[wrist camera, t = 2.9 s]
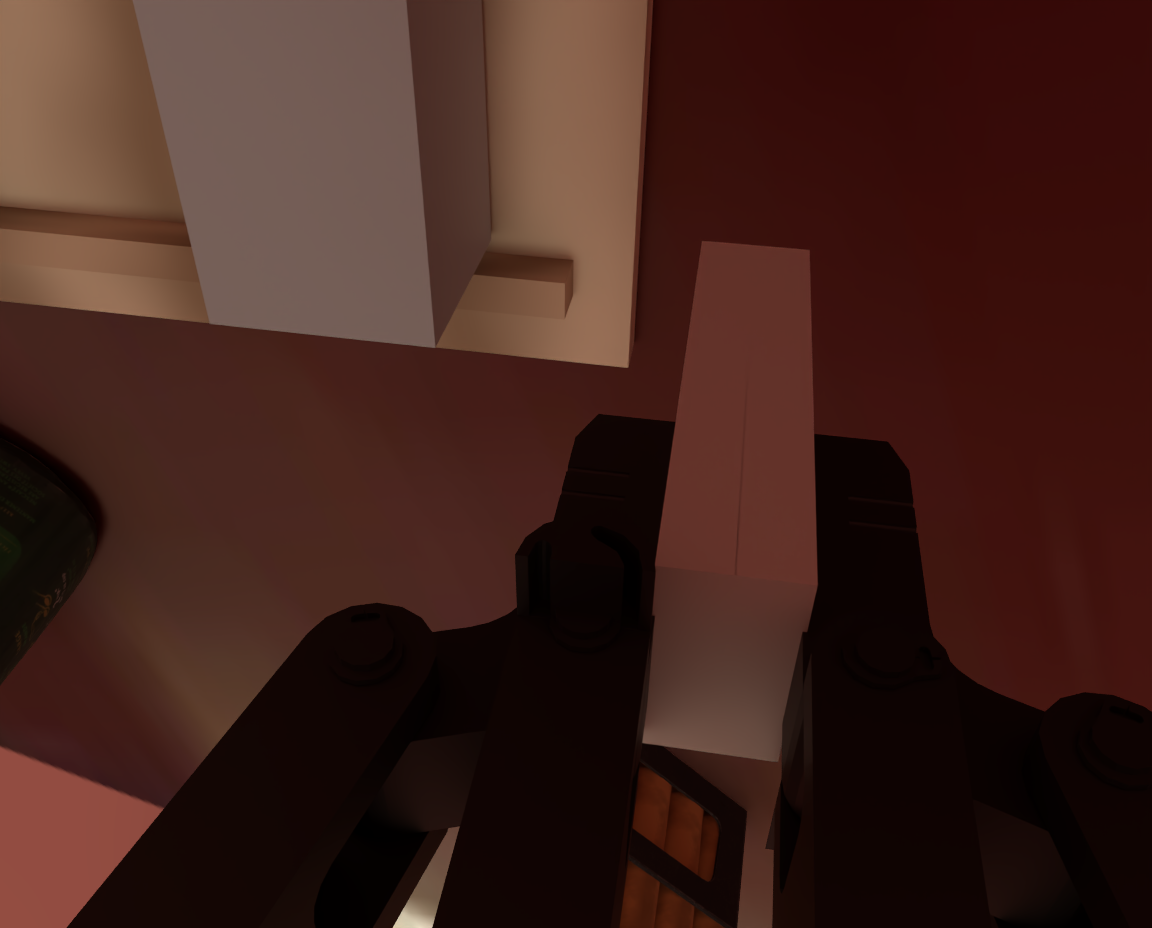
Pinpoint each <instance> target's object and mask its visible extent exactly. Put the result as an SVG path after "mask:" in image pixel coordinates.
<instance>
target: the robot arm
mask: <svg viewBox="0 0 1152 928" xmlns="http://www.w3.org/2000/svg"><path fill="white" fill-rule="evenodd" d="M916 528H917V525H916V518H915V510H914V508H913V495H912V488H911V480H910V473H909V470H908V468H907V467H906V466H905V464H904V463H903V462H902V460H901V459H900V458H899V456H898V455H897V453H896V452H895V451H894V449H893V448H892V447H891V445H890V444H889V443H888V442H885V441H876V440H866V439H857V438H847V437H838V436H828V435H819V434H814V413H813V372H812V331H811V289H810V250H804V249H793V248H781V247H769V246H757V245H746V244H734V243H722V242H710V241H702V245H701V252H700V259H699V266H698V272H697V279H696V286H695V293H694V300H693V307H692V314H691V320H690V327H689V334H688V341H687V348H686V355H685V362H684V368H683V375H682V382H681V389H680V396H679V403H678V409H677V416H676V422H669V421H660V420H650V419H641V418H631V417H622V416H612V415H603V414H598V415H597V416H596V417H595V418H594V419H593V420H592V421H591V422H590V423H589V424H588V425H587V426H586V427H585V428H584V429H583V430H582V431H581V432H580V433H579V434H578V435H577V437H576V438H575V442H574V445H573V449H572V453H571V457H570V460H569V464H568V471H567V472H566V476H565V479H564V483H563V487H562V494H561V495H560V498H559V502H558V506H557V510H556V513H555V517H554V521H553V522H549V523H546V524H544V525H542V526H541V527H539V528H538V529H537V530H535V531H534V532H532V533H531V534H530V535H528V536H527V537H525V539H524V541H523V543H522V544H521V546H520V548H519V549H518V551H517V553H516V554H515V564H516V593H517V608H516V609H514V610H513V611H512V612H510V613H509V614H507V615H505V616H503V617H501V618H499V619H496V620H494V621H492V622H489V623H485V624H481V625H477V626H472V627H467V628H460V629H452V630H445V631H437V632H432V631H431V630H430V629H429V627H428V626H427V624H426V623H425V622H424V620H423V619H422V618H421V617H419V616H417V615H416V614H414V613H412V612H410V611H408V610H407V609H405V608H403V607H399V606H393V605H387V604H381V603H373V604H365V605H357V606H351V607H348V608H346V609H344V610H341V611H339V612H337V613H334V614H332V615H330V616H328V617H326V618H325V619H324V620H322V621H321V622H320V623H319V624H318V625H317V626H316V627H314V628H313V629H312V630H311V631H310V632H309V633H307V635H306V636H305V637H304V638H303V640H302V641H301V642H300V643H299V644H298V646H297V647H296V648H295V649H294V651H293V652H292V653H291V654H290V655H289V657H288V658H287V659H286V660H285V662H284V663H283V664H282V665H281V666H280V668H279V669H278V670H277V671H276V673H275V674H274V675H273V676H272V677H271V679H270V680H269V681H268V682H267V684H266V685H265V686H264V687H263V688H262V690H261V691H260V692H259V693H258V695H257V696H256V697H255V698H254V699H253V701H252V702H251V703H250V704H249V706H248V707H247V708H246V709H245V710H244V712H243V713H242V714H241V715H240V717H239V718H238V719H237V720H236V721H235V723H234V724H233V725H232V726H231V728H230V729H229V730H228V731H227V732H226V734H225V735H224V736H223V737H222V739H221V740H220V741H219V742H218V743H217V745H216V746H215V747H214V748H213V749H212V751H211V752H210V753H209V754H208V756H207V757H206V758H205V759H204V760H203V762H202V763H201V764H200V765H199V767H198V768H197V769H196V770H195V771H194V773H193V774H192V775H191V776H190V778H189V779H188V780H187V781H186V782H185V784H184V785H183V786H182V787H181V789H180V790H179V791H178V792H177V793H176V795H175V796H174V797H173V798H172V800H171V801H170V802H169V803H168V804H167V806H166V807H165V808H164V809H163V811H162V812H161V813H160V814H159V816H158V817H157V818H156V819H155V820H154V822H153V823H152V824H151V825H150V826H149V828H148V829H147V830H146V831H145V833H144V834H143V835H142V836H141V838H140V839H139V840H138V841H137V842H136V844H135V845H134V846H133V847H132V848H131V850H130V851H129V852H128V853H127V855H126V856H125V857H124V858H123V860H122V861H121V862H120V863H119V864H118V866H117V867H116V868H115V869H114V870H113V872H112V873H111V874H110V875H109V876H108V878H107V879H106V880H105V881H104V883H103V884H102V885H101V886H100V887H99V889H98V890H97V891H96V892H95V894H94V895H93V896H92V897H91V899H90V900H89V901H88V902H87V904H86V905H85V906H84V907H83V908H82V909H81V911H80V912H79V913H78V914H77V916H76V917H75V918H74V919H73V920H72V922H71V923H70V924H69V925H68V927H67V928H393V926H394V924H395V922H396V921H397V919H398V917H399V915H400V914H401V912H402V910H403V908H404V907H405V905H406V903H407V901H408V900H409V898H410V896H411V894H412V893H413V891H414V889H415V887H416V886H417V884H418V882H419V880H420V879H421V877H422V875H423V873H424V872H425V870H426V868H427V866H428V865H429V863H430V861H431V859H432V857H433V856H434V854H435V852H436V850H437V849H438V847H439V845H440V843H441V842H442V840H443V838H444V836H445V835H446V833H447V830H448V828H451V827H457V826H460V828H459V832H458V835H457V839H456V843H455V846H454V850H453V854H452V857H451V861H450V865H449V868H448V872H447V876H446V879H445V883H444V887H443V890H442V894H441V898H440V901H439V905H438V909H437V912H436V916H435V920H434V924H433V927H432V928H620V920H621V912H622V905H623V897H624V889H625V881H626V874H627V866H628V858H629V851H630V843H631V835H632V827H633V820H634V812H635V804H636V797H637V789H638V777H639V765H640V756H641V749H642V743H646V744H653V745H660V746H667V747H674V748H681V749H688V750H696V751H703V752H710V753H717V754H724V755H731V756H738V757H745V758H752V759H759V760H766V761H773V762H778V759H779V755H780V750H781V746H782V780H781V784H780V788H779V792H778V797H777V801H776V805H775V809H774V814H773V818H772V822H771V827H770V831H769V835H768V839H767V844H766V848H765V849H772V850H774V872H773V924H772V928H1152V712H1151V711H1149V710H1148V709H1147V708H1145V707H1143V706H1141V705H1138V704H1135V703H1133V702H1130V701H1127V700H1125V699H1122V698H1120V697H1117V696H1114V695H1106V694H1096V693H1086V692H1084V693H1080V694H1076V695H1072V696H1068V697H1064V698H1060V699H1059V700H1058V701H1057V702H1056V703H1055V704H1053V705H1052V706H1051V707H1050V708H1049V709H1048V710H1047V711H1045V712H1044V711H1042V710H1039V709H1036V708H1034V707H1031V706H1029V705H1026V704H1024V703H1021V702H1018V701H1016V700H1013V699H1011V698H1008V697H1006V696H1003V695H1001V694H998V693H996V692H994V691H992V690H990V689H988V688H986V687H984V686H982V685H980V684H977V683H976V682H975V681H973V680H972V679H970V678H969V677H968V676H966V675H965V674H963V673H962V672H960V671H959V670H958V669H957V668H956V667H955V666H954V665H953V664H952V663H951V662H950V660H949V657H948V654H947V652H946V649H945V648H944V647H943V646H942V645H941V644H940V643H939V642H938V641H937V640H936V639H935V638H934V637H933V633H932V630H931V627H930V623H929V615H928V608H927V600H926V593H925V585H924V578H923V570H922V563H921V555H920V548H919V540H918V533H916Z"/></svg>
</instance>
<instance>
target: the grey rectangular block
mask: <svg viewBox="0 0 1152 928" xmlns="http://www.w3.org/2000/svg"><path fill="white" fill-rule="evenodd" d="M133 4H134V8H135V12H136V16H137V20H138V25H139V29H140V33H141V37H142V41H143V46H144V50H145V54H146V58H147V62H148V67H149V71H150V75H151V79H152V83H153V88H154V92H155V96H156V100H157V104H158V109H159V113H160V117H161V121H162V125H163V129H164V134H165V138H166V142H167V146H168V150H169V155H170V159H171V163H172V167H173V171H174V176H175V180H176V184H177V188H178V192H179V197H180V201H181V205H182V209H183V213H184V218H185V222H186V226H187V230H188V234H189V238H190V243H191V247H192V251H193V255H194V259H195V264H196V268H197V272H198V276H199V280H200V285H201V289H202V293H203V297H204V301H205V306H206V310H207V314H208V318H209V322H210V324H217V325H227V326H236V327H245V328H255V329H264V330H273V331H283V332H292V333H301V334H311V335H320V336H330V337H339V338H348V339H358V340H367V341H376V342H386V343H395V344H404V345H414V346H423V347H433V348H436V346H437V344H438V342H439V340H440V338H441V336H442V334H443V332H444V330H445V328H446V326H447V324H448V323H449V321H450V319H451V317H452V315H453V313H454V311H455V309H456V307H457V305H458V303H459V301H460V299H461V298H462V296H463V294H464V292H465V290H466V288H467V286H468V284H469V282H470V280H471V278H472V276H473V274H474V272H475V271H476V269H477V267H478V265H479V263H480V261H481V259H482V257H483V255H484V253H485V251H486V249H487V247H488V246H489V244H490V242H491V218H490V194H489V169H488V145H487V121H486V96H485V72H484V48H483V23H482V0H133Z"/></svg>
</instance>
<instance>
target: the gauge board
mask: <svg viewBox="0 0 1152 928" xmlns="http://www.w3.org/2000/svg"><path fill="white" fill-rule="evenodd" d="M652 13H653V0H482V23H483V48H484V72H485V96H486V121H487V145H488V169H489V194H490V218H491V242H490V244H489V246H488V247H487V249H486V251H485V253H484V255H483V257H482V259H481V261H480V263H479V265H478V267H477V269H476V271H475V272H474V274H473V276H472V278H471V280H470V282H469V284H468V286H467V288H466V290H465V292H464V294H463V296H462V298H461V299H460V301H459V303H458V305H457V307H456V309H455V311H454V313H453V315H452V317H451V319H450V321H449V323H448V324H447V326H446V328H445V330H444V332H443V334H442V336H441V338H440V340H439V342H438V344H437V346H436V347H438V348H447V349H457V350H466V351H475V352H485V353H494V354H504V355H513V356H522V357H532V358H541V359H550V360H560V361H569V362H579V363H588V364H597V365H607V366H616V367H625V368H628V366H629V362H630V358H631V354H632V350H633V346H634V333H635V316H636V298H637V280H638V262H639V244H640V227H641V209H642V191H643V173H644V155H645V138H646V120H647V102H648V84H649V66H650V49H651V31H652ZM0 301H7V302H17V303H26V304H35V305H45V306H54V307H63V308H73V309H82V310H92V311H101V312H110V313H120V314H129V315H138V316H148V317H157V318H166V319H176V320H185V321H195V322H204V323H210V322H209V318H208V314H207V310H206V306H205V301H204V297H203V293H202V289H201V285H200V280H199V276H198V272H197V268H196V264H195V259H194V255H193V251H192V247H191V243H190V238H189V234H188V230H187V226H186V222H185V218H184V213H183V209H182V205H181V201H180V197H179V192H178V188H177V184H176V180H175V176H174V171H173V167H172V163H171V159H170V155H169V150H168V146H167V142H166V138H165V134H164V129H163V125H162V121H161V117H160V113H159V109H158V104H157V100H156V96H155V92H154V88H153V83H152V79H151V75H150V71H149V67H148V62H147V58H146V54H145V50H144V46H143V41H142V37H141V33H140V29H139V25H138V20H137V16H136V12H135V8H134V4H133V0H0Z"/></svg>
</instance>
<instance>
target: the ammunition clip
mask: <svg viewBox="0 0 1152 928" xmlns="http://www.w3.org/2000/svg"><path fill="white" fill-rule="evenodd" d="M746 818H747V811H745V810H744V809H743V808H742V807H740V806H739V805H738V804H736V803H735V802H734V801H733V800H731V799H730V798H729V797H727V796H726V795H725V794H723V793H722V792H721V791H720V790H718V789H717V788H716V787H714V786H713V785H712V784H711V783H709V782H708V781H707V780H705V779H704V778H703V777H701V776H700V775H699V774H698V773H696V772H695V771H694V770H692V769H691V768H690V767H689V766H687V765H686V764H685V763H683V762H682V761H681V760H679V759H678V758H677V757H676V756H674V755H673V754H672V753H670V752H669V751H668V750H667V749H665V748H664V747H663V746H660V745H653V744H646V743H642V749H641V756H640V765H639V777H638V789H637V797H636V804H635V812H634V820H633V827H632V835H631V843H630V851H629V858H628V866H627V874H626V881H625V889H624V897H623V905H622V912H621V920H620V928H737V923H738V911H739V899H740V888H741V876H742V865H743V853H744V842H745V830H746Z"/></svg>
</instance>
